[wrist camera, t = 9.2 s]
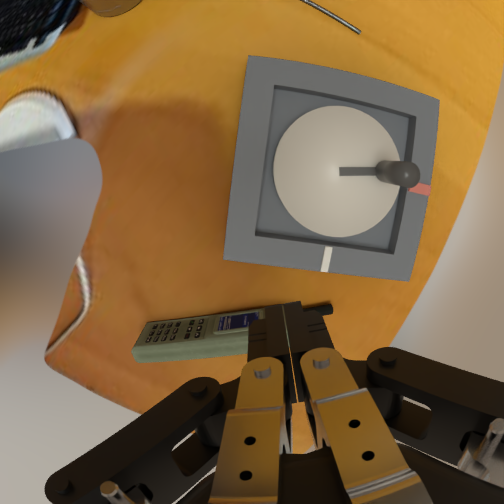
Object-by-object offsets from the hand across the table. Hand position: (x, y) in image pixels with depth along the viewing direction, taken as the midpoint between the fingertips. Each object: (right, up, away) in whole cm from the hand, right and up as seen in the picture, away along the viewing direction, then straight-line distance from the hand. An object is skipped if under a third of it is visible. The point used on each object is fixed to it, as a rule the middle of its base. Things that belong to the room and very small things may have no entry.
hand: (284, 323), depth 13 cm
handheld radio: (-3, -6, +28) cm, 29 cm away
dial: (+8, +12, +20) cm, 24 cm away
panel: (+8, +12, +22) cm, 26 cm away
